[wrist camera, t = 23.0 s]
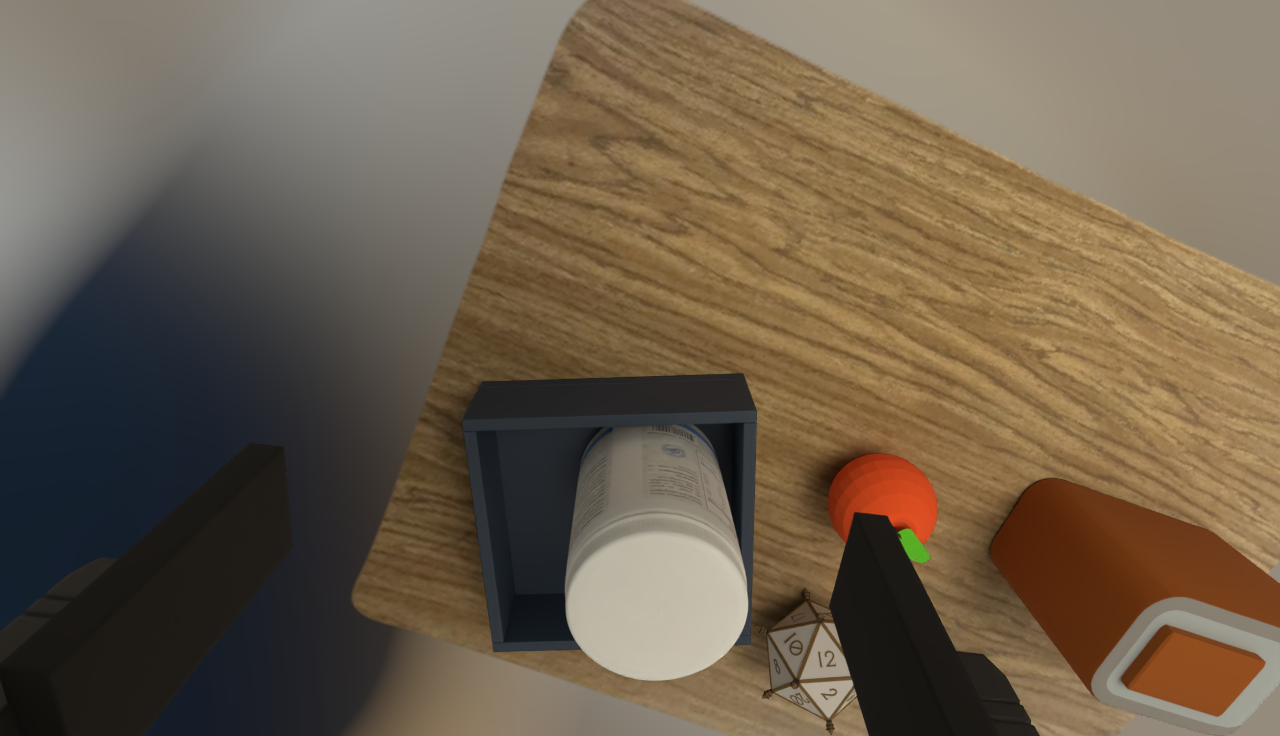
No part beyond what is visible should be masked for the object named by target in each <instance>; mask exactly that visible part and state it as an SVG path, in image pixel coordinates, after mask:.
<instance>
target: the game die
mask: <svg viewBox="0 0 1280 736" xmlns="http://www.w3.org/2000/svg"><path fill="white" fill-rule="evenodd" d="M809 594H810V593H809V592H808V591H807V590H806V588H805V590H804V592H803V596H804V597H803V598H804V599H805V601H804V602H803V603H802V604H801V605H799V606H798V607H797V608H795V609H794V610H793V611H792V612H790V613H789V614H788V615H787V616H785V617H784V618H783V619H781V620H780V621H779V622H778V623H776V624H775V625H774V626H773V627H771V628H770V629H769V630H767V629H766V627H763V625H762V626H756V628H757V629H758V631H759V633H760V632H761V633H762V634H766V639H767V651H768V662H769V673H770V685H771V689H770V690H767V691H764V694H763V697H762V699H763V698H768V699H769V697H771V695H772V694H773V693H774V694H776V695H778V696H780V697H782V698H784V699H786V700H788V701H790V702H792V703H793V704H795V705H797V706H799V707H801V708H803V709H805V710H807V711H809V712H811V713H813V714H814V715H816V716H818V717H820V718H822V719H824V720H826V722H827V724H826V726H827V729H826V730H828V732H829V733H830V734H831V735H832V733H833V730H834V729H835V728H834V727H833V725H834V724H832V722H831V721H832V719H833V718H834V717H836V716H837V715H838V714H839V713H840V712H841V711H842V710H843V709H844V708H845V707H846V706H847V705H849V704H850V703H851V702H852V701H853V700H854V699H855V698H856V697H857V695H856V692H855V689H854V685H853V682H852V679H851V676H850V673H849V669H848V666H847V663H846V660H845V656H844V653H843V650H842V647H841V644H840V640H839V637H838V634H837V631H836V627H835V624H834V621H833V618H832V614H831V611H830V609H829V608H826V607H824V606H822V605H820V604H817V603H815V602H813V601H810V600H809V599H810V595H809Z"/></svg>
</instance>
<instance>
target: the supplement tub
mask: <svg viewBox="0 0 1280 736" xmlns="http://www.w3.org/2000/svg"><path fill="white" fill-rule="evenodd" d="M565 599H566V604H565V606H566V618H567V622H568V626H569V629H570V631H571V634H572V635H573V637H574V639H575V641H576V642H577V644H578V645H579V647H580V648H581V649H582V650H583V651H584V652H585V653H586V654H587V655H588V656H589V657H590V658H591V659H592V660H594V661H595V662H596V663H598V664H599V665H601V666H603V667H604V668H606V669H608V670H610V671H612V672H614V673H617V674H620V675H623V676H626V677H630V678H634V679H640V680H670V679H676V678H680V677H684V676H688V675H691V674H694V673H696V672H699V671H701V670H703V669H705V668H707V667H708V666H710V665H712V664H713V663H715V662H716V661H717V660H719V659H720V658H721V657H723V656H724V655H725V654H726V653H727V652H728V651H729V650H730V648H731V647H732V646H733V645H734V644H735V642H736V641H737V639H738V638H739V636H740V634H741V632H742V630H743V628H744V625H745V622H746V618H747V613H748V595H747V579H746V574H745V569H744V565H743V560H742V555H741V551H740V547H739V543H738V539H737V535H736V531H735V527H734V523H733V519H732V515H731V511H730V507H729V503H728V499H727V495H726V490H725V487H724V483H723V479H722V475H721V471H720V467H719V463H718V459H717V456H716V453H715V451H714V448H713V446H712V445H711V443H710V441H709V440H708V438H707V437H706V436H705V435H704V434H703V432H702V431H700V430H699V429H698V428H697V427H696V426H695V425H693V424H686V425H654V426H622V427H604V428H602V429H601V430H600V431H599V432H598V433H597V434H596V435H595V436H594V437H593V439H592V440H591V441H590V443H589V444H588V446H587V447H586V450H585V452H584V454H583V457H582V460H581V464H580V470H579V477H578V485H577V492H576V500H575V507H574V515H573V522H572V530H571V538H570V545H569V552H568V560H567V569H566V578H565Z"/></svg>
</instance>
